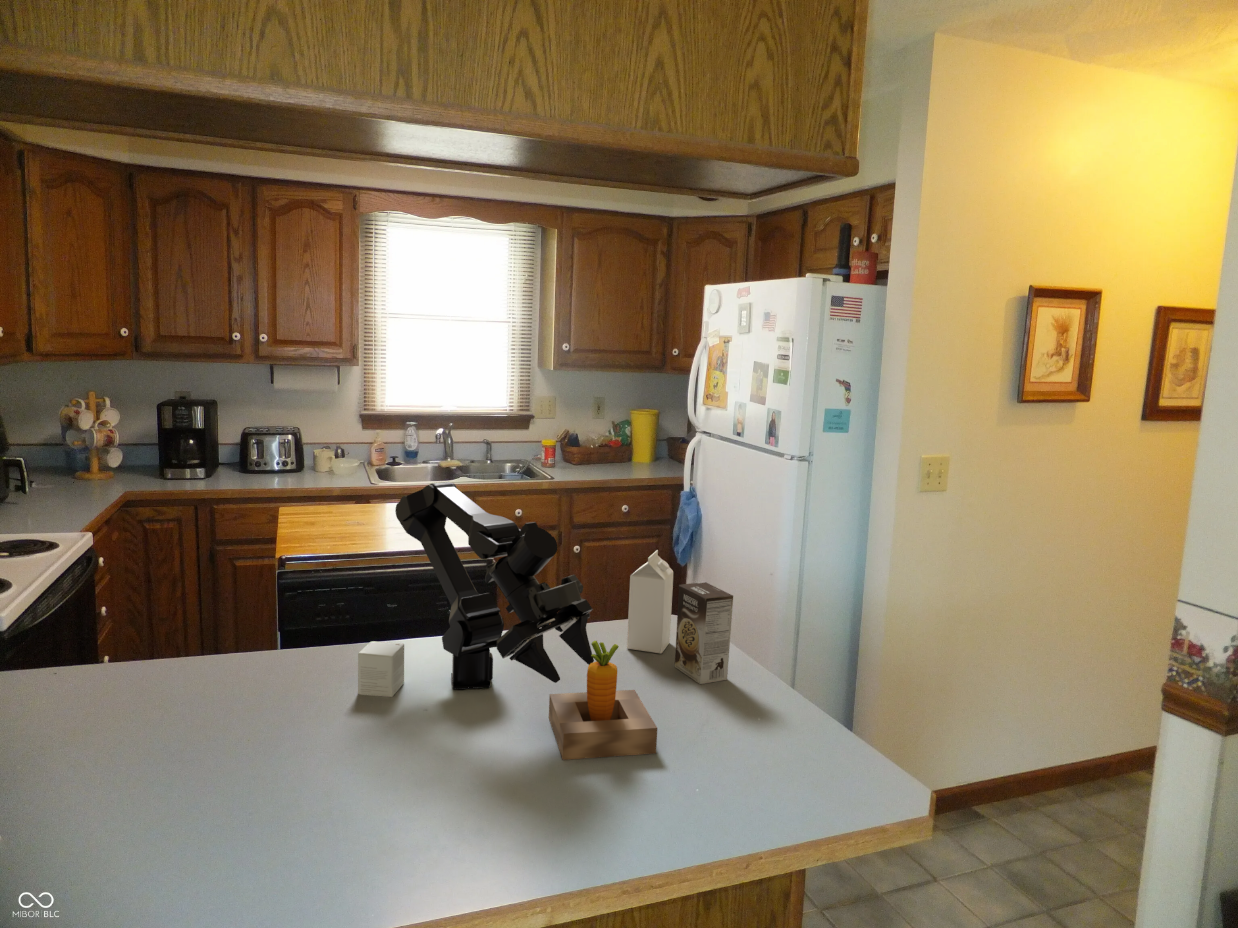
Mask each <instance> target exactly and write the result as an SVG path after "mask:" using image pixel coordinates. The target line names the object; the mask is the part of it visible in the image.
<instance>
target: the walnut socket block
mask: <svg viewBox="0 0 1238 928" xmlns="http://www.w3.org/2000/svg"><path fill="white" fill-rule="evenodd" d="M548 704H549V705H548V719H549V722H550V726H551V728H552V732H553V735H554V738H555V742H556V744H557V747H558V750H559V753H560V757H561V759H562V761H566V760H580V759H581V760H583V759H594V758H609V757H623V756H624V757H625V756H638V755H652V754H653V755H654V754H656V753H657V743H658V741H657V740H658V727H657V725H656V723H655V721H654V720H653V718H652V716H651V715H650V712H649V711H648V710H647V708H646V706H645V705H644V703H643V702H642V700H641V698H640V696H639V695H638V693H637V691H636V689H625V690H624V689H623V690H616V697H615V703H614V708H613V712H612V716H611V719H610V720H603V721H591V718H590V714H589V708H588V701H587V691H585V692H584V691H583V692H568V693H567V692H566V693H565V692H564V693H562V692H561V693H550V694H549V699H548Z"/></svg>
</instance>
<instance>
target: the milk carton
mask: <svg viewBox="0 0 1238 928" xmlns="http://www.w3.org/2000/svg"><path fill="white" fill-rule="evenodd" d="M658 554H659V550H658V549H656V550H655V551H654V552H653V553H652V554H650V555H649V557H647V561H646V563H644V564H642V565H641V566H639V568H637V569H636V570H635V571H634V572H633V573H631V574H630V575H629V577H630V578H629V593H628V594H629V595H628V613H627V614H628V616H627V617H628V618H627V620H628V621H627V638H626V645H627V646H626V649H629V650H636V651H640V652H641V651H642V652H646V653H647V652H648V653H655V654H662V653H664V651H665V649H666V648H667V647H668V645H669V644H670V641H671V623H672V622H671V621H672V608H673V607H672V606H673V605H672V603H673V588H674V587H673V586H674V571H673V569H672V568H671V567H670V564H668V562H667V561H665V560H664V559H662V558H661V556H659V555H658Z"/></svg>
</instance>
